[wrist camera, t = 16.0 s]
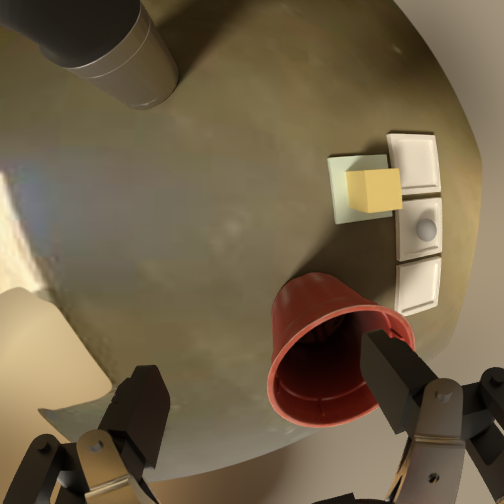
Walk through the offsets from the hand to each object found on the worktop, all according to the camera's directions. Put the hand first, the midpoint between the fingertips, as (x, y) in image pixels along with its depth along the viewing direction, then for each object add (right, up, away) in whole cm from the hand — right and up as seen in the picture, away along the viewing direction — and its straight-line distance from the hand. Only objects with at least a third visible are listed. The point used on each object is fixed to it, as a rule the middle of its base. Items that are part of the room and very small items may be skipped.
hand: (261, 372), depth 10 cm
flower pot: (+9, -4, +31) cm, 32 cm away
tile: (+15, +13, +26) cm, 33 cm away
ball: (+26, +8, +28) cm, 39 cm away
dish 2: (+26, +8, +28) cm, 39 cm away
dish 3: (+27, -1, +31) cm, 41 cm away
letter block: (+15, +13, +26) cm, 32 cm away
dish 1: (+24, +18, +26) cm, 40 cm away
